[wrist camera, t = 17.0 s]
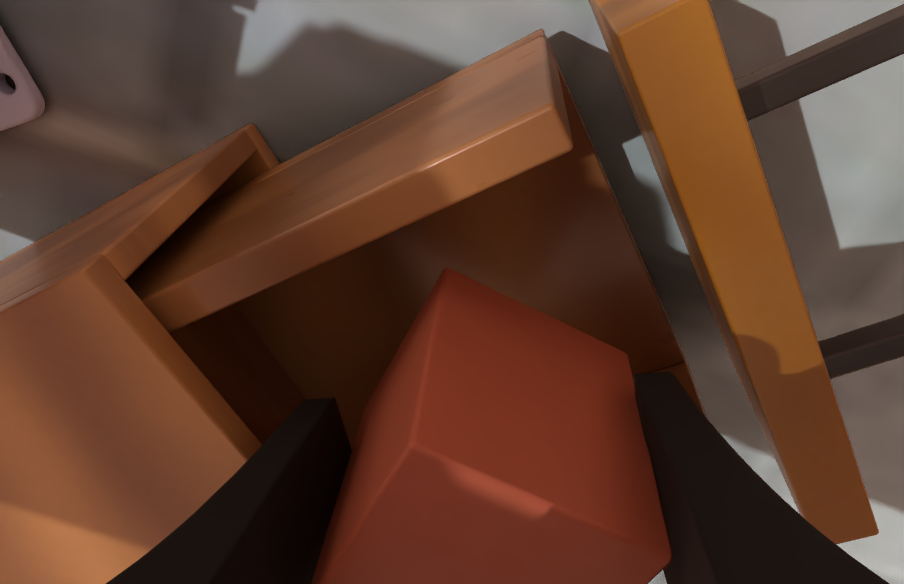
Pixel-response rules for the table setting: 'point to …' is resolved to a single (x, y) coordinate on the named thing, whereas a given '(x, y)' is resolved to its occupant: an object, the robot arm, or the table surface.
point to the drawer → (532, 238)
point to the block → (497, 457)
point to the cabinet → (109, 386)
